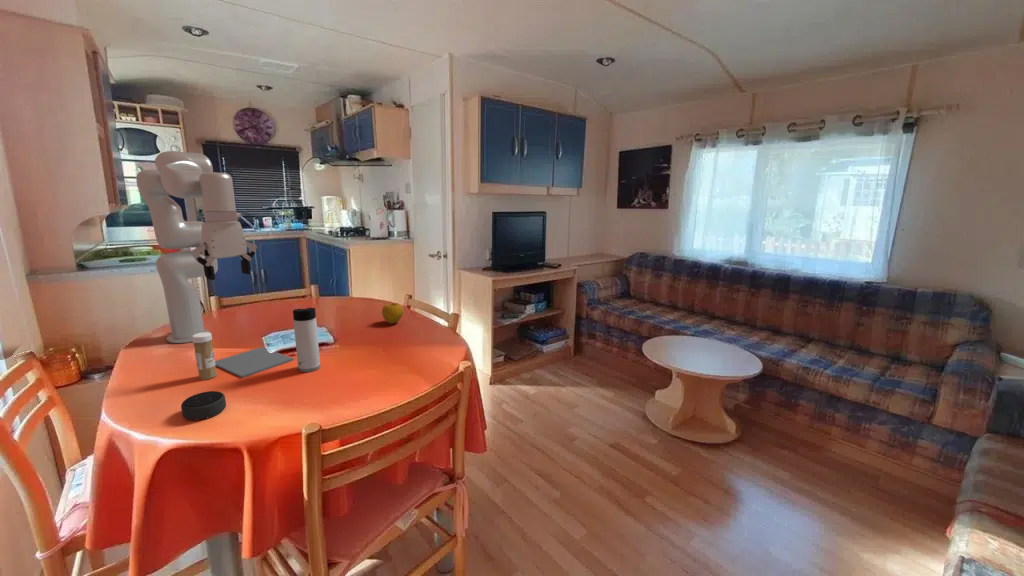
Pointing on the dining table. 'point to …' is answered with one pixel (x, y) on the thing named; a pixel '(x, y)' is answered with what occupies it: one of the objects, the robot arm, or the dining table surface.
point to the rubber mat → (252, 362)
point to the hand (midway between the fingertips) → (229, 276)
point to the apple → (392, 312)
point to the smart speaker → (203, 405)
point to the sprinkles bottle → (204, 355)
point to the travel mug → (306, 339)
